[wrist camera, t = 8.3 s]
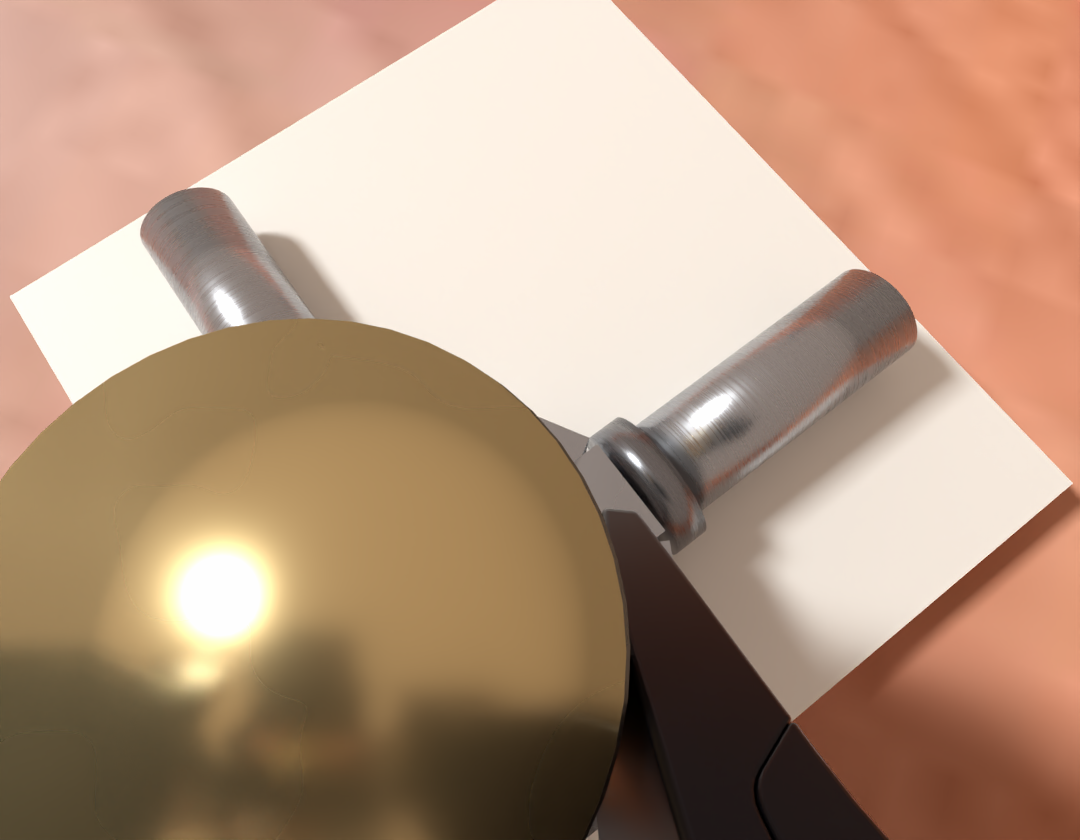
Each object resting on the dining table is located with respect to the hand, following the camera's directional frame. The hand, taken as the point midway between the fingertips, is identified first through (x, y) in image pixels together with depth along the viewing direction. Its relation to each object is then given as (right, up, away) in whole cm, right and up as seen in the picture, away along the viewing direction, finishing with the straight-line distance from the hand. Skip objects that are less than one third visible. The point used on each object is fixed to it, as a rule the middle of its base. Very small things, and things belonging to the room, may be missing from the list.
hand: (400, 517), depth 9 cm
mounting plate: (+1, +2, +10) cm, 10 cm away
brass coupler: (0, -3, +6) cm, 7 cm away
